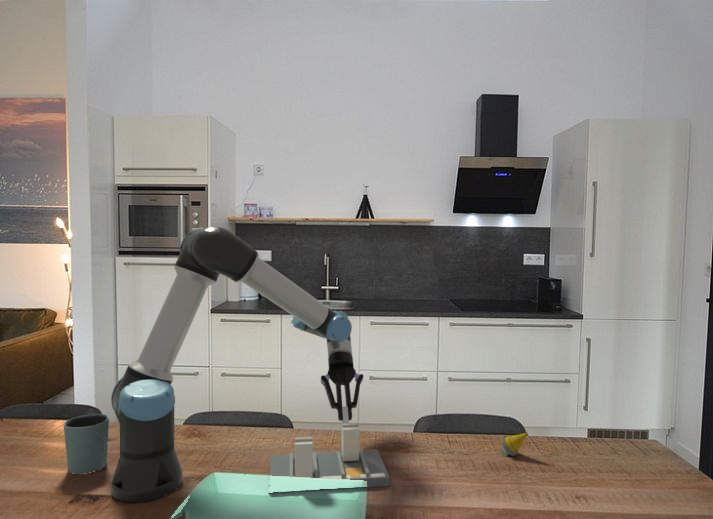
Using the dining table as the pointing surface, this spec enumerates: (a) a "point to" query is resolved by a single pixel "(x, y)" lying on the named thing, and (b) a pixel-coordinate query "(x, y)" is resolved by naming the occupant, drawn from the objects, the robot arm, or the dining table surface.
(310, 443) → the tab left
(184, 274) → the robot arm
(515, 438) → the yellow spinning top
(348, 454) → the tab right
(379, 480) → the switch bank
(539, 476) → the dining table surface
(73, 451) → the teal cup
